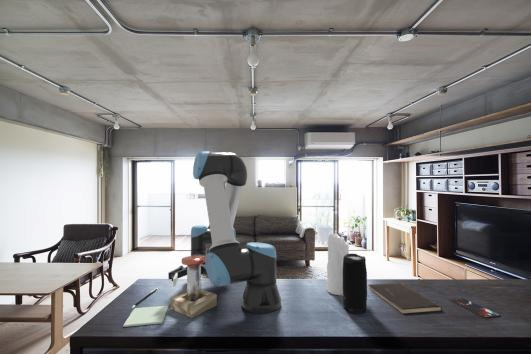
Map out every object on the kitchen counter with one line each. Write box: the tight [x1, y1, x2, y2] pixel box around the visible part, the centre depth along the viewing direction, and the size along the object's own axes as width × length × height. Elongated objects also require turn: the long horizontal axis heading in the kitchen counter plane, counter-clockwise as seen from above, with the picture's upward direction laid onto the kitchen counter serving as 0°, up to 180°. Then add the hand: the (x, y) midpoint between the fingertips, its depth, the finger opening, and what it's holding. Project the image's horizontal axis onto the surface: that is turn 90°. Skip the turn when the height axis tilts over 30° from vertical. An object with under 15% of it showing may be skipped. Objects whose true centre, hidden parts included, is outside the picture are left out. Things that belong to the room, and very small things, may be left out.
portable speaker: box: [342, 253, 368, 315], centre depth 99 cm, size 9×9×20 cm
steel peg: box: [181, 255, 205, 302], centre depth 101 cm, size 9×9×18 cm
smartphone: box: [448, 297, 501, 319], centre depth 100 cm, size 7×1×15 cm
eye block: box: [170, 289, 218, 319], centre depth 101 cm, size 12×12×4 cm
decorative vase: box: [325, 232, 350, 296], centre depth 117 cm, size 11×11×25 cm
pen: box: [131, 287, 159, 309], centre depth 110 cm, size 1×19×1 cm, turn 173°
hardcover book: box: [368, 282, 442, 314], centre depth 108 cm, size 16×23×2 cm
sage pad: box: [123, 305, 169, 328], centre depth 94 cm, size 12×12×1 cm
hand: (193, 281), depth 99 cm, fingers open, 13 cm apart
